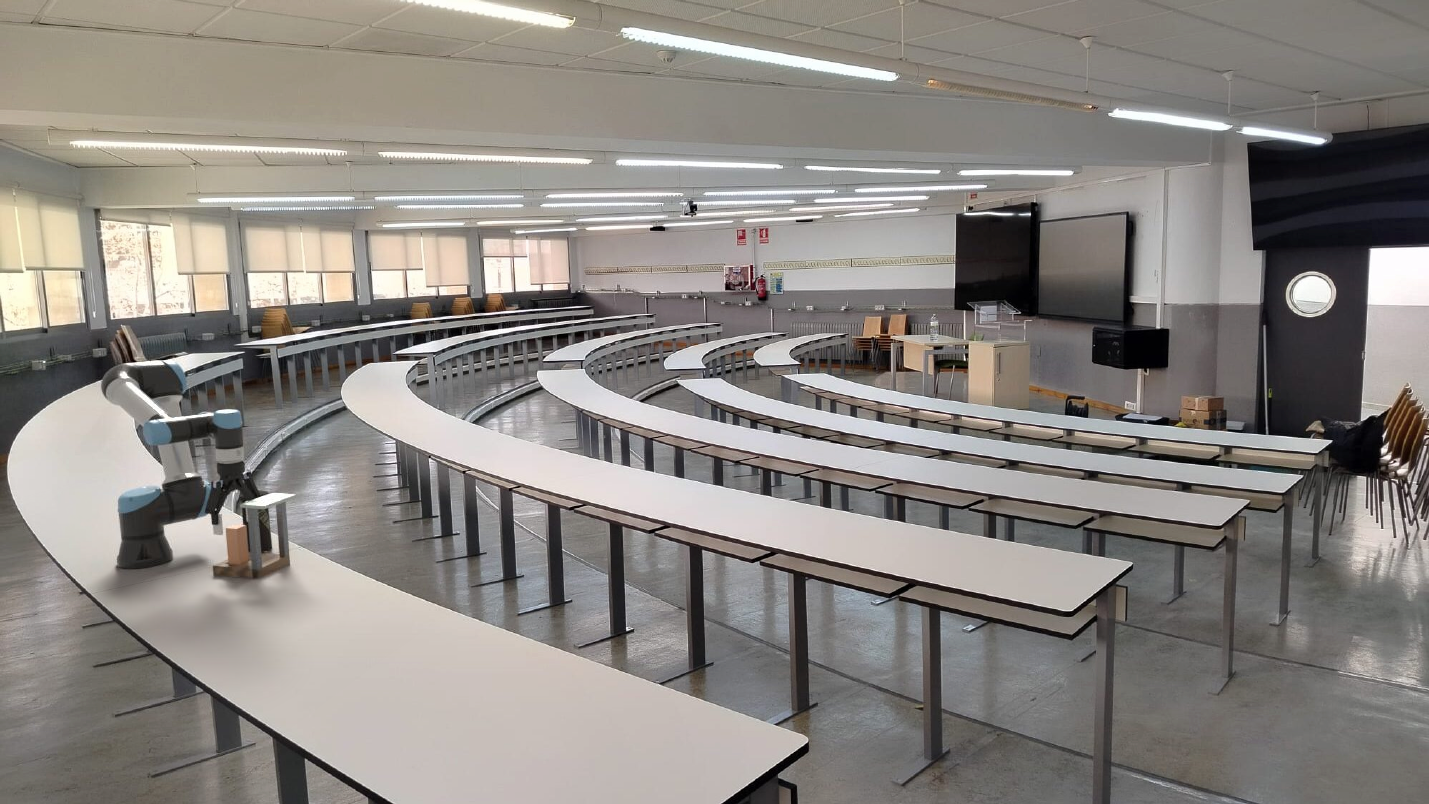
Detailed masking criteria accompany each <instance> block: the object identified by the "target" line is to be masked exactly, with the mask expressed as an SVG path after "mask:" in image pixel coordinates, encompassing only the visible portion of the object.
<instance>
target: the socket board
mask: <svg viewBox="0 0 1429 804" xmlns="http://www.w3.org/2000/svg"><path fill="white" fill-rule="evenodd" d="M248 553H249V561H248V562H246V563H243V564H241V565H233V564H228V558H227V559H225V560H222V561H220V562H217V563H216V564H213V565H212V574H213V576H221V577H222V576H223V577H232V578H241V579H242V578H243V579H253V580H255V579H254V578H256V577H258V578H259V579H262V578H264V577H266V576H268V575H271V574H273V573H275V572H277V571H278V570H281V569H283V568H285V567H287V566H289V565H291V557H290V556H291V555H289V556H286V557H280V555H279V554H278V553H267V552H263V553H261V556H262V568H260V569H258V571H257V569H254V570H255V571H254V570H253V569H252V563H251V552H248ZM256 571H257V574H256V575H255V574H254V573H256ZM258 572H259V573H258ZM252 575H253V576H252ZM260 575H261V576H260ZM258 578H257V579H256V580H259V579H258Z"/></svg>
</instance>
